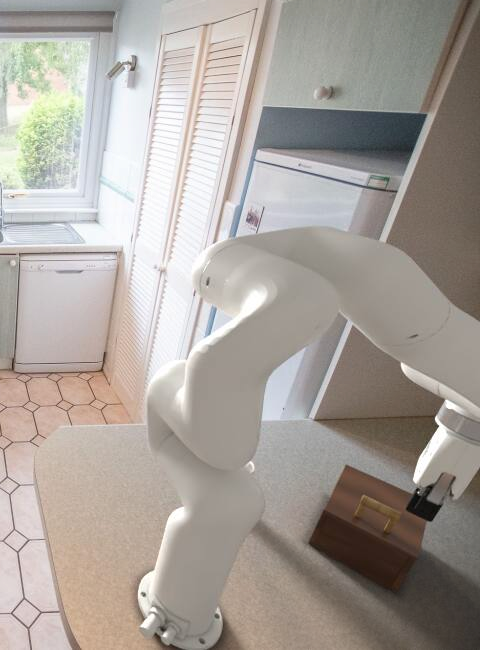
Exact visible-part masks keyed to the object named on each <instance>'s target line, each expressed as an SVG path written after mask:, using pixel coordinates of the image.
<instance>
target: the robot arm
mask: <svg viewBox="0 0 480 650" xmlns="http://www.w3.org/2000/svg"><path fill="white" fill-rule="evenodd" d="M190 275H191V276H190V280H191V283H192V287H193V289H194V292H196V294H197V295H198V296H199V297H200V298H201V299H202V300H203V301H204V302H206V303H208V304H209V305H210V306H212V307H214V308H215V309H217V310H219V311H220V312H221V313H223V314H225V316H228V317H230V318H231V320H230V321H229V322H227V323H226V324H224V325H222V326H221V327H220V328H218V329H217V330H216V331H214V332H213V333H211V334H210V335H208V336H207V337H205V338H204V339H202V340H200V341H199V342H198V343H197V344H196V345H195V346H194V347H193V348H192V349H191V351H190V352H189V354H188V356H187V359H177V360H173V361H170V362H168V363H166V364H165V365H164V364H163V366H162V367H160V368H159V369H158V370H157V371H156V372H155V374H154V375H153V376H152V378H151V380H150V382H149V384H148V386H147V390H146V396H145V408H146V409H145V410H146V411H145V412H146V414H145V415H146V436H147V437H146V438H147V445H148V450H149V453H150V456H151V458H152V460H153V462H154V463H155V464H156V466H157V467H158V469H159V470H160V471H161V473H162V474H163V475H164V477H165V479H166V480H167V481H168V482H169V484H170V485H171V487H172V489H173V490H174V491H175V493H176V494H177V496H178V497H179V499H180V500H181V503H182V506H181V507H178V508H177V509H175V510H174V511H173V512H172V513H171V514H170V515H169V516H168V519H167V522H166V525H165V528H164V533H163V537H162V540H161V544H160V548H159V552H158V556H157V559H156V563H155V566H154V570H152V571H149V572H148V573H147V574H145V575H144V576H143V578H142V579H141V581H140V583H139V587H138V590H137V601H138V607H139V609H140V612H141V615H142V616H143V618H144V621H143V623H142V624H141V625H140V626H139V632H140V634H141V635H142V636H143V637H144V639H147V640H151V639H152V638H153V637H154V635H155V634H156V635H157V636H159V637H160V640H161V642H162V643H163V644H164V645H165V646H170V645H172V646H174V647H177V648H179V649H181V650H208V649H210V648H212V647H214V646H215V645H216V644H217V643H218V642H219V639H220V637H221V635H222V631H223V625H224V622H223V615H222V612H221V609H220V607H219V604H220V602H221V599H222V596H223V593H224V591H225V588H226V586H227V583H228V581H229V578H230V575H231V573H232V569H233V567H234V564H235V561H236V559H237V557H238V554H239V552H240V550H241V547H242V546H243V543H244V541H245V540H246V538H247V536H248V535H249V534H250V533H251V531H252V530H253V529H254V528H255V527H256V525H257V524H258V523H259V521H260V520H261V519H262V517H263V516H264V513H265V512H266V507H267V506H266V503H267V502H266V496H265V494H264V491H263V490H262V487H261V486H260V484H259V482H258V481H257V480H256V478H255V477H254V475H253V476H252V475H251V473H250V472H249V471H248V470H247V469H246V468H245V467H244V466H245V465H246V464H248V463H249V462H250V461H252V460H253V458H254V457H255V454H256V453H257V450H258V446H259V442H260V438H261V429H262V420H263V412H264V411H263V410H264V402H265V393H266V388H267V384H268V381H269V378H270V377H271V376H272V374H273V373H274V372H275V371H276V370H277V369H279V367H281V365H282V364H284V363H285V362H287V361H288V360H289V359H290V358H292V357H293V356H295V355H296V354H297V353H300V352H301V351H302V350H303V349H305V348H307V347H308V346H309V345H311V344H312V343H314V342H316V341H318V339H320V338H321V337H322V336H323V335H324V334H326V332H328V331H329V329H330V328H331V327H332V325H333V324H334V322H335V320H336V319H337V317H338V314H340V315H341V316H342V317H344V318H345V319H346V320H347V321H348V322H349V323H350V324H351V325H353V326H354V327H355V328H356V329H357V330H358V331H359V332H360V333H361V334H363V335H364V336H365V337H366V338H367V339H368V341H370V342H371V343H372V344H373V345H374V346H376V347H377V348H378V349H379V350H381V351H382V352H384V353H385V354H386V355H389V356H390V357H392V358H394V359H395V360H396V361H398V362H400V367H401V371H402V373H403V374H404V376H406V377H407V378H408V379H409V380H410V381H412V382H413V383H415V384H416V385H418V386H419V387H422V388H423V389H425V390H427V391H428V392H430V393H433V394H434V395H436V396H437V397H439V398H441V399H444V402H443V403H442V405H441V406H440V408H439V410H438V412H437V413H436V414H435V415H436V416H435V418H434V421H435V423H436V424H437V425H438V428H437V429H436V431H435V432H434V433H433V435H432V437H431V438H430V440H429V442H428V444H427V445H426V447H425V448H424V450H423V451H422V453H421V454H420V455H419V458H418V460H417V463H416V466H415V470H414V474H413V479H412V480H413V483H414V484H415V486H417V487H415V490H414V491H413V493H412V494H413V495H412V496H411V498H410V500H409V501H408V503H407V506H406V511H408V512H410V513H412V514H414V515H416V516H418V517H420V518H422V519H424V520H426V521H427V522H429V523H431V522H433V521H434V519H435V518H436V516H437V515H438V513H439V512H440V510H441V509H442V507H443V506H444V503H445V501H446V499H447V498H449V500H450V501H456V500H459V498H460V497H461V496H462V495H463V493H464V491H465V490H466V489H467V488H468V486H469V484H470V483H471V481H472V480H473V478H474V477H475V475H476V474H477V472H478V471H479V469H480V321H479V320H478V319H476V318H475V317H473V316H471V315H470V314H469V313H467V312H465V311H464V310H462V309H460V308H459V307H457V306H455V304H453V303H452V302H451V301H450V300H449V298H448V297H447V296H446V295H445V294H444V293H443V292H442V291H441V290H440V289H439V288H438V286H437V285H436V284H435V283H434V282H433V281H432V280H431V278H430V277H429V276H428V275H427V274H426V273H425V271H423V269H422V268H421V267H420V266H419V265H418V264H417V263H416V262H415V261H414V260H413V258H412V257H410V256H409V255H408V254H407V253H406V252H405V251H403V250H401V249H400V248H398V247H396V246H394V245H392V244H390V243H387V242H385V241H382V240H378V239H375V238H371V237H367V236H364V235H361V234H357V233H353V232H350V231H346V230H343V229H340V228H336V227H332V226H327V225H303V226H296V227H289V228H282V229H275V230H269V231H264V232H256V233H252V234H246V235H239V236H233V237H229V238H225V239H222V240H220V241H217V242H215V243H213V244H211V245H210V246H208V247H207V248H206V249H204V250H203V251H202V252H201V253H200V254H199V255H198V256H197V258H196V260H195V261H194V263H193V265H192V268H191V273H190Z"/></svg>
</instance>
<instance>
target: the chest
mask: <svg viewBox="0 0 480 650" xmlns="http://www.w3.org/2000/svg"><path fill="white" fill-rule="evenodd" d="M307 544H309V545H310V546H311V547H314V548H315V549H317V550H319V551H321V552H323V553H324V554H326V555H328V556H330V558H333V559H335V560H337V561H338V562H340V563H341V564H344V565H345V566H347V567H349V568H351V569H353V571H356V572H358V573H359V574H361V575H363V576H365V577H367V578H369V579H370V580H372V581H374V582H375V583H376V584H379V585H381V586H383V587H384V588H386V589H388V590H389V591H391V592H393V593H396V592H397V591H398V589H399V587H400V586H401V584H402V583H403V582H404V580H405V578H406V576H407V575H408V573H409V572H410V570H411V569H412V567H413V565H414V564H415V563H416V560H414V559H412V558H410V557H408V556H406V555H404V554H402V553H400V552H398V551H396V550H394V549H392V548H390V547H389V546H387V545H385V544H383V543H381V542H379V541H377V540H375V539H373V538H371V537H369V536H367V535H365V534H363V533H361V532H360V531H358V530H356V529H354V528H352V527H350V526H348V525H346V524H344V523H342V522H340V521H338V520H336V519H334V518H333V517H331V516H329V515H327V514H325V513H323V511H322V512H321V514H320V517H319V518H318V521H317V523H316V525H315V527H314V529H313V532H312V533H311V536H310V537H309V540H308V542H307Z"/></svg>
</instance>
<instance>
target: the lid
mask: <svg viewBox="0 0 480 650" xmlns="http://www.w3.org/2000/svg"><path fill="white" fill-rule="evenodd" d="M412 495H413V493H411V492H409V491H407V490H405V489H403V488H400V487H398V486H396V485H394V484H391V483H389V482H387V481H384V480H383V479H380V478H378V477H375V476H373V475H371V474H369V473H366V472H364V471H362V470H359V469H358V468H356V467H353V466H351V465H349V464H345V465H344V467H343V469H342V471H341V473H340V475H339V477H338V478H337V481H336V483H335V485H334V488H333V489H332V492H331V494H330V496H329V497H328V500H327V501H326V504H325V506H324V508H323V510H322V512H323V513H325V514H327V515H329V516H331V517H333V518H334V519H336V520H338V521H340V522H342V523H344V524H346V525H348V526H350V527H352V528H354V529H356V530H358V531H360V532H361V533H363V534H365V535H367V536H369V537H371V538H373V539H375V540H377V541H379V542H381V543H383V544H385V545H387V546H389V547H390V548H392V549H394V550H396V551H398V552H400V553H402V554H404V555H406V556H408V557H410V558H412V559H414V560H415V562H417V561H418V559H419V558H420V557H419V556H420V553H421V548H422V544H423V539H424V535H425V532H426V525H427V522H428V521H426V520H424V519H422V518H420V517H418V516H416V515H414V514H412V513H410V512H408V511H406V506H407V503H408V501H409V500H410V498H411V496H412Z"/></svg>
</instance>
